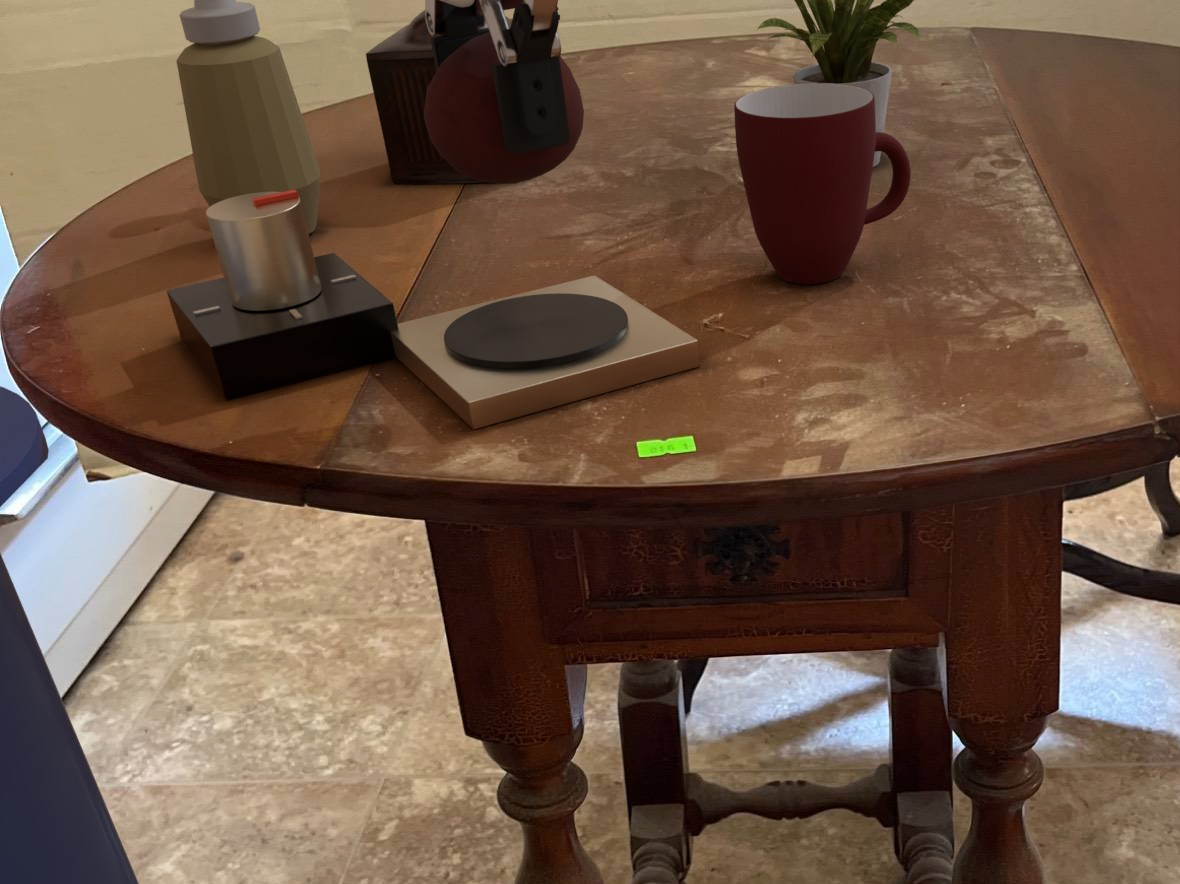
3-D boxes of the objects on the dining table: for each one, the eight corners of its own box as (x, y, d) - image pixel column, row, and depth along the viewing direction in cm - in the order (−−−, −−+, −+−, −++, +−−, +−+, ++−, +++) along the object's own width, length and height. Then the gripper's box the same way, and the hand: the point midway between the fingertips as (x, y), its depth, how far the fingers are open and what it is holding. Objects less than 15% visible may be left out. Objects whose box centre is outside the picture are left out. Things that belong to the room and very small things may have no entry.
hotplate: (473, 430, 74) (466, 394, 73) (390, 352, 83) (383, 319, 82) (700, 366, 79) (697, 332, 78) (597, 299, 88) (593, 268, 87)
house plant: (731, 200, 103) (712, -63, 93) (731, 146, 114) (715, -94, 104) (935, 187, 102) (938, -79, 93) (916, 134, 113) (917, -108, 104)
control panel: (226, 400, 79) (209, 343, 77) (181, 339, 87) (165, 287, 85) (404, 355, 83) (392, 300, 81) (345, 301, 90) (333, 249, 89)
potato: (403, 194, 74) (374, 44, 70) (515, 151, 80) (494, 10, 76) (512, 212, 71) (488, 56, 67) (622, 165, 76) (605, 18, 72)
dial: (243, 318, 80) (216, 220, 77) (221, 293, 84) (194, 198, 81) (332, 297, 82) (309, 200, 79) (307, 273, 86) (284, 180, 82)
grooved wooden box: (561, 142, 118) (525, -116, 107) (521, 182, 109) (478, -93, 98) (378, 145, 120) (326, -106, 110) (325, 185, 112) (262, -83, 101)
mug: (866, 235, 95) (863, 69, 89) (937, 268, 89) (939, 93, 83) (721, 270, 91) (709, 99, 85) (786, 307, 85) (777, 126, 79)
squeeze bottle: (197, 256, 99) (111, -41, 89) (236, 219, 106) (161, -62, 95) (314, 251, 99) (242, -49, 88) (346, 214, 105) (283, -70, 95)
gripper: (296, -287, 68) (379, 113, 79) (423, -291, 56) (501, 185, 66) (449, -300, 71) (509, 88, 82) (602, -306, 59) (649, 153, 69)
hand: (505, 129), depth 74 cm, fingers closed on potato, 7 cm apart
